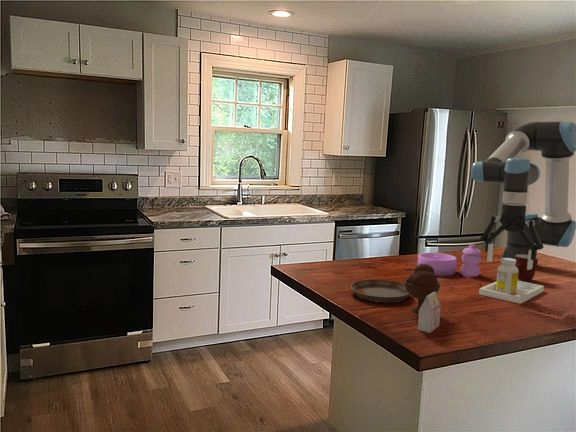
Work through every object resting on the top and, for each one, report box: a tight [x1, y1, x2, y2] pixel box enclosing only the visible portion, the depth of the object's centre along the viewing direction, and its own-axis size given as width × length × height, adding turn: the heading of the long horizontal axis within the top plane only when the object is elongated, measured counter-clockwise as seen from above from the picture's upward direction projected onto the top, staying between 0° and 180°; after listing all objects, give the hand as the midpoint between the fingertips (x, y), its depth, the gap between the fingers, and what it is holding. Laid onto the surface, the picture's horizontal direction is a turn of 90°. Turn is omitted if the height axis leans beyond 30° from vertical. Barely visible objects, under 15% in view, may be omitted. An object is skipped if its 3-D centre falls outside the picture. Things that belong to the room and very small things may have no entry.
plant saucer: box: [350, 278, 411, 304], centre depth 172 cm, size 21×21×3 cm
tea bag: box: [417, 292, 442, 334], centre depth 142 cm, size 4×7×10 cm, turn 143°
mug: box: [515, 254, 539, 282], centre depth 196 cm, size 11×8×10 cm
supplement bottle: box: [495, 258, 519, 296], centre depth 173 cm, size 7×7×13 cm
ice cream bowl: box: [404, 264, 441, 315], centre depth 155 cm, size 11×11×15 cm
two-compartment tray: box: [478, 280, 545, 305], centre depth 178 cm, size 22×14×3 cm, turn 135°
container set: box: [417, 243, 482, 279], centre depth 206 cm, size 25×15×13 cm, turn 56°
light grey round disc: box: [517, 283, 530, 291], centre depth 181 cm, size 8×8×2 cm
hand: (509, 265), depth 173 cm, fingers open, 13 cm apart
